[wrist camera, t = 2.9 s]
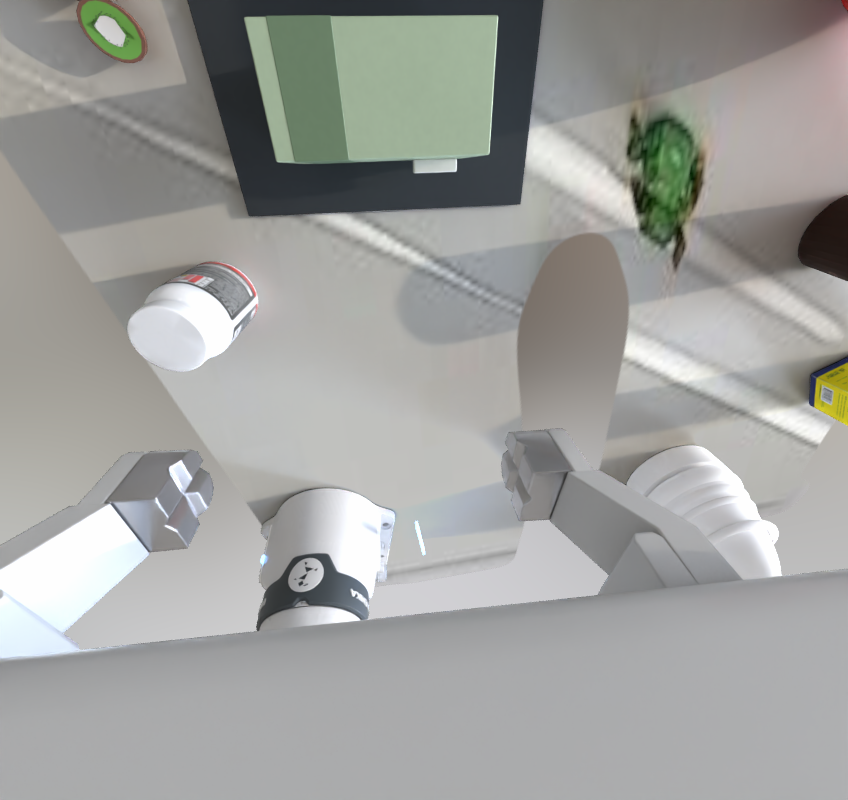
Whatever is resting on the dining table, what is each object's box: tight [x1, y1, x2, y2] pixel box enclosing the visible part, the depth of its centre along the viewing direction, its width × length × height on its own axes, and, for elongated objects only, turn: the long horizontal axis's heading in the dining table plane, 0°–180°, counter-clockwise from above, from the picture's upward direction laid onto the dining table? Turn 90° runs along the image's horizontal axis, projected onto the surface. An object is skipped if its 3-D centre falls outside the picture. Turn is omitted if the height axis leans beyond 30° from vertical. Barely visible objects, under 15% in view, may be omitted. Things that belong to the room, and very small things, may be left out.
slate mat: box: [188, 0, 543, 216], centre depth 22 cm, size 20×22×1 cm
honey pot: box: [626, 445, 781, 580], centre depth 44 cm, size 13×13×18 cm
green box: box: [244, 15, 498, 173], centre depth 21 cm, size 6×12×8 cm, turn 91°
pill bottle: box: [127, 262, 258, 372], centre depth 26 cm, size 6×6×10 cm
